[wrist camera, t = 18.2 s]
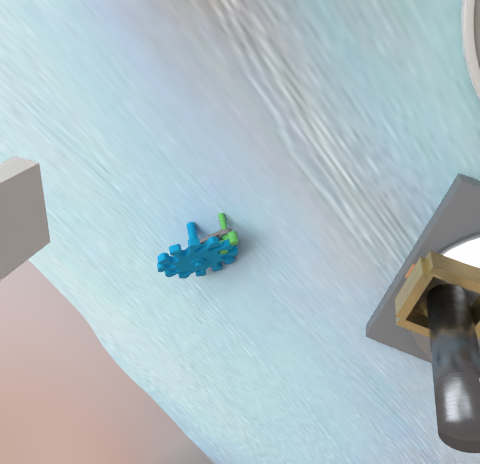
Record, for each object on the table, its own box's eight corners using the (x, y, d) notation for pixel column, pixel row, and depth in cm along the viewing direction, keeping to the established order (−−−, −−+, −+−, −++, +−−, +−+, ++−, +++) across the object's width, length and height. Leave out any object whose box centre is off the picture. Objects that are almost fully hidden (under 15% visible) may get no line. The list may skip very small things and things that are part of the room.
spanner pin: (419, 305, 45) (428, 438, 32) (436, 278, 42) (453, 409, 29) (457, 318, 44) (482, 460, 31) (475, 291, 42) (511, 431, 29)
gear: (190, 287, 56) (139, 273, 47) (182, 248, 58) (133, 228, 50) (260, 257, 52) (219, 235, 43) (249, 216, 54) (208, 189, 46)
